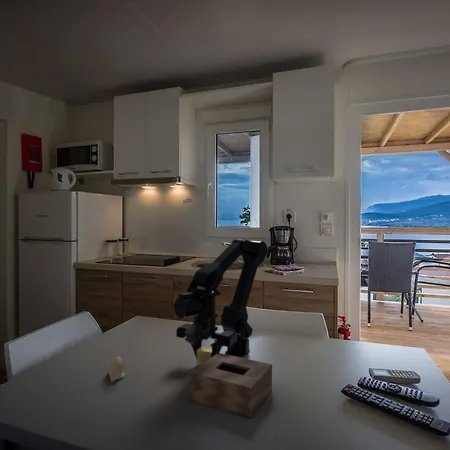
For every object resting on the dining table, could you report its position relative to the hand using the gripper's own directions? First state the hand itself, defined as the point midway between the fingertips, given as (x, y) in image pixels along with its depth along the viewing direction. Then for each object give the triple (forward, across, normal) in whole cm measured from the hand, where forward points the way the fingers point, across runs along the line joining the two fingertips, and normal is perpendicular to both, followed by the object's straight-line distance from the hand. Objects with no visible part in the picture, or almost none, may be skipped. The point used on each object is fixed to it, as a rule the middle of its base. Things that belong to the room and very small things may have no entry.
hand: (205, 362), depth 102 cm
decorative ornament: (+1, -19, -18) cm, 26 cm away
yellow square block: (+1, 0, 0) cm, 1 cm away
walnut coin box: (+1, +15, -12) cm, 19 cm away
